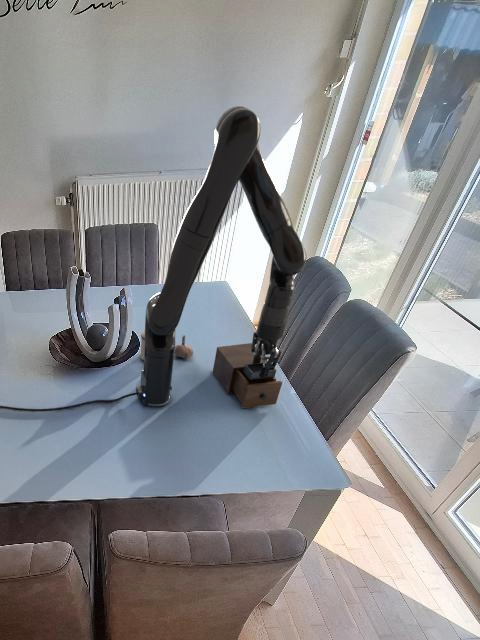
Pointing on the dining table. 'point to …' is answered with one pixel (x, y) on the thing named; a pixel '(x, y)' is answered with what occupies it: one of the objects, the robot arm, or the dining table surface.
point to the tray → (257, 371)
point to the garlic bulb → (183, 350)
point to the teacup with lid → (142, 344)
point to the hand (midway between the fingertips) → (259, 372)
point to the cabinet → (231, 363)
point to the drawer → (255, 390)
